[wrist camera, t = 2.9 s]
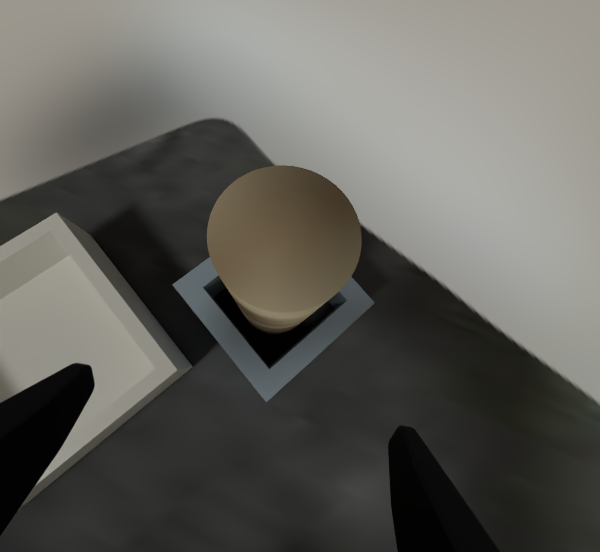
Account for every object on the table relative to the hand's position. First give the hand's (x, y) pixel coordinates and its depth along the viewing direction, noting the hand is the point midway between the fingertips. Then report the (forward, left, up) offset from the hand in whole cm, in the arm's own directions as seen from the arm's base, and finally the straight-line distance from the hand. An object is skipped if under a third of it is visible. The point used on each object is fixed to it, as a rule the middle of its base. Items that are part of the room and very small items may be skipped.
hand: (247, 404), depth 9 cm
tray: (+9, +9, -11) cm, 17 cm away
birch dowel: (+3, -4, -11) cm, 13 cm away
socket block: (+3, -4, -11) cm, 13 cm away
